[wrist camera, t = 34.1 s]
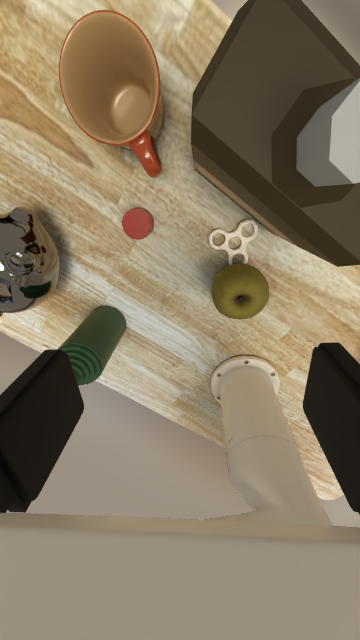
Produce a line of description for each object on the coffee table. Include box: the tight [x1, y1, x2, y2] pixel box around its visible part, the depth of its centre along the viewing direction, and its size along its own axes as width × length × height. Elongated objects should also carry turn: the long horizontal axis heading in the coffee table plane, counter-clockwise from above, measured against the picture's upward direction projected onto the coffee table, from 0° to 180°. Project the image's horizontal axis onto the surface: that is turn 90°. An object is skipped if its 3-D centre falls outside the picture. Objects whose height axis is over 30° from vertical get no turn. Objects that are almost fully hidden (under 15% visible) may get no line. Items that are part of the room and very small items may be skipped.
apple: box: [212, 263, 269, 319], centre depth 36 cm, size 8×8×7 cm
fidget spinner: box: [209, 219, 258, 265], centre depth 36 cm, size 7×6×1 cm
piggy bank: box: [0, 207, 62, 317], centre depth 34 cm, size 11×15×12 cm
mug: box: [59, 10, 164, 178], centre depth 27 cm, size 12×9×10 cm
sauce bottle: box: [58, 306, 126, 386], centre depth 36 cm, size 6×6×18 cm
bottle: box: [191, 0, 360, 267], centre depth 21 cm, size 8×16×25 cm, turn 55°
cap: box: [122, 208, 154, 239], centre depth 35 cm, size 4×4×3 cm
